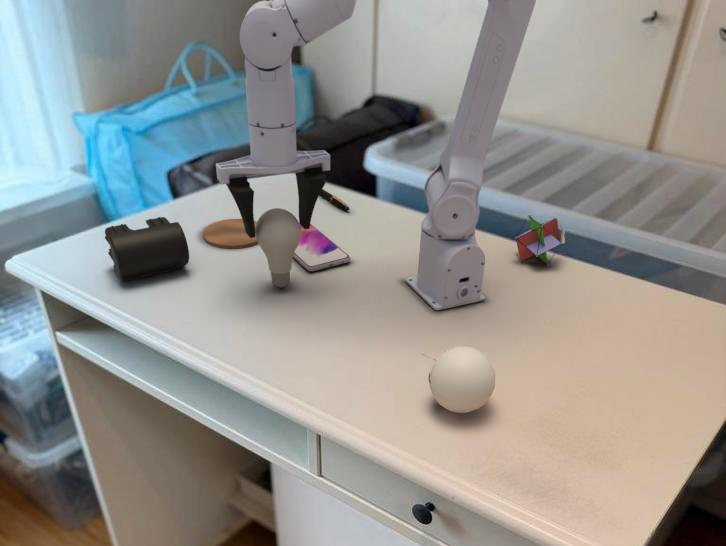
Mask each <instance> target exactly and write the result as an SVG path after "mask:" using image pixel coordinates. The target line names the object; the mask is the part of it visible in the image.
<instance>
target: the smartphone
mask: <svg viewBox="0 0 726 546" xmlns="http://www.w3.org/2000/svg"><path fill="white" fill-rule="evenodd" d="M298 222H299V221H298ZM299 225H300V228H301V238H300V242H299V244H298V246H297V248H296V250H295V252H294V254H293V257H292V258H294V259H295V260H296V261H297V262H298V263H299V264H300V265H301V266H302V267H303V268H305V269H306V270H307V271H309V272H315V271H319V270H320V271H321V270H323V269H328V268H331V267H335V266H339V265H343V264H346V263H349V262H351V256H350V254H348V253H347V252H346V251H344V249H342V248H341V247H340V246H338V245H337V244H336V243H335V242H333V241H332V240H331V239H330V238H329V237H327V236H326V235H325V234H323V232H322V231H320V230H319V229H318V228H316V227H315V226H314V225H313V224H311V223H310V228H309V229H304V228H303V227H302V226H301V224H300V222H299Z"/></svg>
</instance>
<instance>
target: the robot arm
mask: <svg viewBox="0 0 726 546" xmlns="http://www.w3.org/2000/svg"><path fill="white" fill-rule="evenodd" d="M356 3H357V0H260V1H258V2H256V3H254V4H253V5H252V6H251V7H250V8H249V9H248V11H246V13H245V15H244V19H243V20H242V22H241V25H240V28H239V44H240V48H241V51H242V53H243V55H244V56H245V57H244V71H245V75H246V77H245V79H244V86H245V95H246V96H245V97H246V98H245V99H246V108H247V109H246V111H247V122H248V137H249V150H250V151H249V152H250V155H246V156H243V157H238V158H235V159H231V160H228V161H227V160H226V161H224V162H223V161H222V162H216V163H215V170H216V179H217V181H218V182H219V183H220V184H221V185H222V186H223V185H226V187H227V189H228V190H229V193H230V194H231V196H232V198H233V200H234V201H235V204H236V207H237V208H238V211H239V214H240V217H241V219H242V220H243V223H244V227H245V231H246V233H247V235H248V236H249V237H250V238H254V237H255V224H254V221H255V217H254V199H255V197H254V196H255V191H254V190H253V188H251V183H250V182H249V181H248V180H250V179H251V180H252V179H259V178H265V177H273V176H281V175H289V174H295V179H296V185H297V195H298V222H300V224H301V226H302V227H303V228H304V229H309V228H310V224H311V222H312V217H313V213H314V209H315V207H316V203H317V201H318V199H319V196H320V192H321V190H322V189H323V188H324V187H325V185H326V182H327V181H326V179H327V178H326V174H324V173H323V172H327V171H331V154H330V153H328V152H327V151H326V150H325V149H322V150H297V131H296V130H297V128H296V127H297V126H296V123H297V122H296V98H295V97H296V96H295V94H296V93H295V79H294V77H293V71H292V70H293V69H292V53H293V49H294V48H295V47H305V46H306V45H308V44H311V42H313V41H314V40H316V39H318V38H319V37H321V36H323V35H324V34H326V33H328V32H329V31H331V30H333V29H335V28H336V27H338V26H340V24H342V23H344V22H345V21H347V20H350V18H352V17H353V15H354V11H355V7H356ZM536 3H537V0H487V7H486V11H485V14H484V18H483V20H482V25H481V27H480V31H479V35H478V38H477V41H476V45H475V49H474V51H473V55H472V58H471V62H470V66H469V69H468V73H467V75H466V79H465V83H464V87H463V89H462V93H461V97H460V100H459V103H458V106H457V110H456V114H455V117H454V120H453V123H452V124H453V125H452V128H451V132H450V135H449V138H448V141H447V144H446V146H445V147H444V150H442V152H441V154H440V157H439V159H438V160H439V161H438V162H437V165H436V167H435V169H434V170H433V171H432V172H431V173H430V174H429V175H428V177H427V179H426V181H425V183H424V189H423V192H424V198H425V202H426V203H427V206H428V211H427V213H426V215H425V217H424V218H422V220H421V227H420V228H421V229H420V241H419V253H418V264H417V265H418V266H417V275H411V276H407V277H405V278H404V279H405V280H404V281H405V283H406V284H407V285H409V286H410V288H411V289H413V290H414V291H415V292H416V293H417V294H418V295H419V296H420V297H421V298H422V299H423V300H424V301H425V302H426V303H427V304H428V305H429V306H430V307H431V308H432V309H433V310H435V311H441V310H446V309H450V308H455V307H459V306H465V305H468V304H475V303H478V302H484V301H485V300H486V299H485V298H486V297H485V295H484V294H483V293H482V286H483V285H482V284H483V278H484V270H485V264H486V257H485V256H486V255H485V253H484V251H483V250H482V248H481V246H479V244H478V242H477V239H476V227H477V224H478V222H479V218H480V213H481V211H480V205H479V197H480V193H481V190H482V186H483V177H484V176H483V173H484V162H485V160H486V155H487V153H488V150H489V147H490V143H491V141H492V137H493V135H494V131H495V128H496V125H497V122H498V119H499V116H500V113H501V110H502V106H503V103H504V101H505V97H506V94H507V91H508V89H509V86H510V83H511V82H510V81H511V79H512V76H513V73H514V69H515V68H516V64H517V61H518V58H519V54H520V52H521V49H522V45H523V42H524V39H525V36H526V33H527V30H528V27H529V24H530V22H531V19H532V15H533V12H534V8H535V5H536Z"/></svg>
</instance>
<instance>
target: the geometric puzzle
mask: <svg viewBox="0 0 726 546" xmlns="http://www.w3.org/2000/svg"><path fill="white" fill-rule="evenodd" d="M539 217H543V216H542V215H541V216H539ZM549 218H552V217H551V216H550V217H549ZM527 219H528V220H529V221H528V222H529V226H530V229H529V230H527V231H525V232H523V233H521V231H522V229H523V228H524V225H522V226H521V228H520V229H519V231H518V233H517V235H516V236H515V241H516V246H517V251H518V256H519V257H518V258H519V263H523V262H525V263H527V264H529V262H526V261H528V260H531V259H533V258H538V260H541V262H543V265H544V266H549V262H548V256H547V252H548V251H550V250H553V249H554V248H555V250H554V252H553V255H552V256H551V258H550V261H552V260H553V258H554V256H555V254H556V253H557V250H558V249H557V248H558V247H559V246H561V245H563V244H566V238H565V236H566V231H565V228H564V227H563V226H562V225H561V223H560V221H558V217H554V218H552V219H551V220H549V221H545V222H543V223H542V224H541V223H539V222H538V221H536V219H534V218H533V215H530V214H527V218H526V219H525V220H524V221H523V222H524V223H523V224H525V223H526V221H527ZM559 226H560V227H559ZM559 228H561V233H560V229H559ZM520 233H521V234H520ZM534 264H535V265H537V264H538V263H536V262H534Z"/></svg>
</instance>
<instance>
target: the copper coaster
mask: <svg viewBox="0 0 726 546" xmlns="http://www.w3.org/2000/svg"><path fill="white" fill-rule="evenodd" d="M254 224H255V229H256V224H257V221H255V220H254ZM202 238H203V240H204V241H205V242H206V243H207V244H209V245H210V246H214V247H216V248H222V249H243V248H249V247H253V246H255V245H259V244H258V242H257V239H256V235H255V237H254V238H250V237H249V236H248V235H247V233H246V231H245V227H244V223H243V220H242V218H228V219H221V220H218V221H215V222H213V223H212V222H211V223H210V224H208V225H207V226H205V228H204V229H203V230H202Z"/></svg>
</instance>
